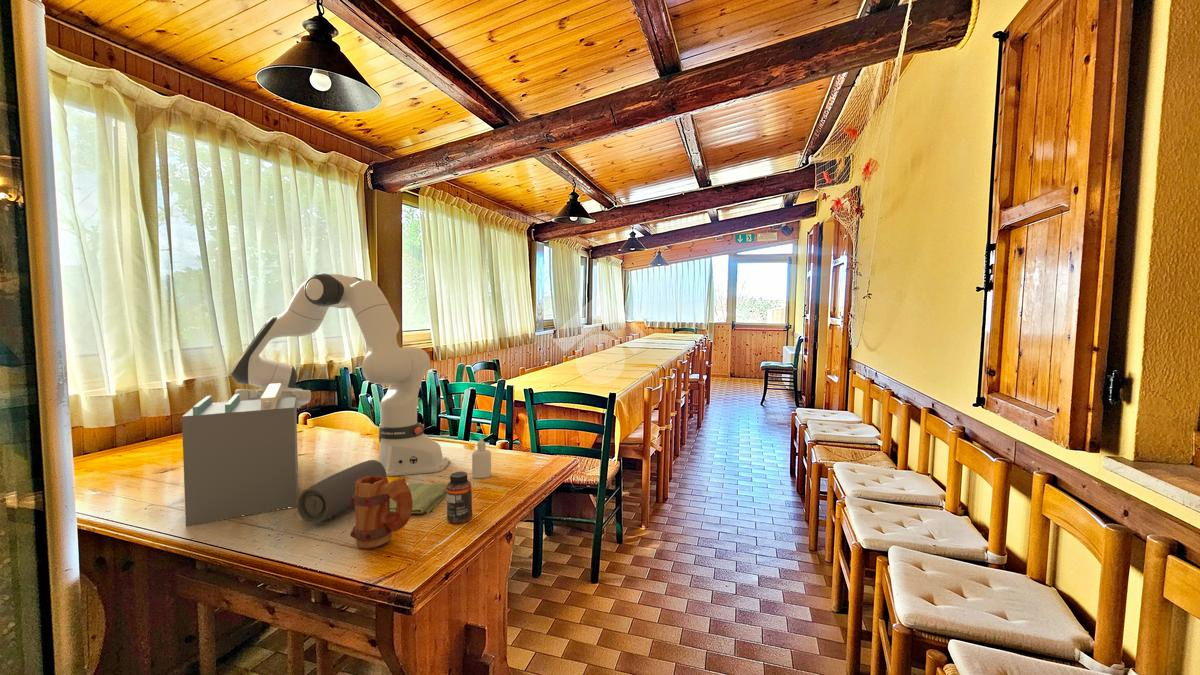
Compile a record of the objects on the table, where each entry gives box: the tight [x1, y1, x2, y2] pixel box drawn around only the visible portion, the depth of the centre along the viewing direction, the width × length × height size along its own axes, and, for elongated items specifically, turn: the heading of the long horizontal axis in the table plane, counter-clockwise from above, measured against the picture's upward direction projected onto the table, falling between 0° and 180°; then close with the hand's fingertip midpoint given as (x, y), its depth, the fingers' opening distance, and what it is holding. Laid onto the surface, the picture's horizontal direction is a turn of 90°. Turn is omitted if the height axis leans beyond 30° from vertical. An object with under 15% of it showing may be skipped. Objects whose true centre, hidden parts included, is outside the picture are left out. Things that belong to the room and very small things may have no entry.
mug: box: [349, 476, 413, 549], centre depth 103 cm, size 15×8×15 cm, turn 69°
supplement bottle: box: [445, 470, 473, 524], centre depth 117 cm, size 6×6×11 cm
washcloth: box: [390, 481, 447, 515], centre depth 128 cm, size 13×18×3 cm
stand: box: [181, 393, 299, 527], centre depth 125 cm, size 18×22×28 cm
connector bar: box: [261, 383, 282, 410], centre depth 131 cm, size 31×3×3 cm, turn 31°
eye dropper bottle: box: [471, 437, 492, 479], centre depth 148 cm, size 4×6×12 cm
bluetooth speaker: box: [296, 459, 388, 524], centre depth 123 cm, size 23×9×10 cm, turn 171°
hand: (276, 393), depth 148 cm, fingers open, 8 cm apart
